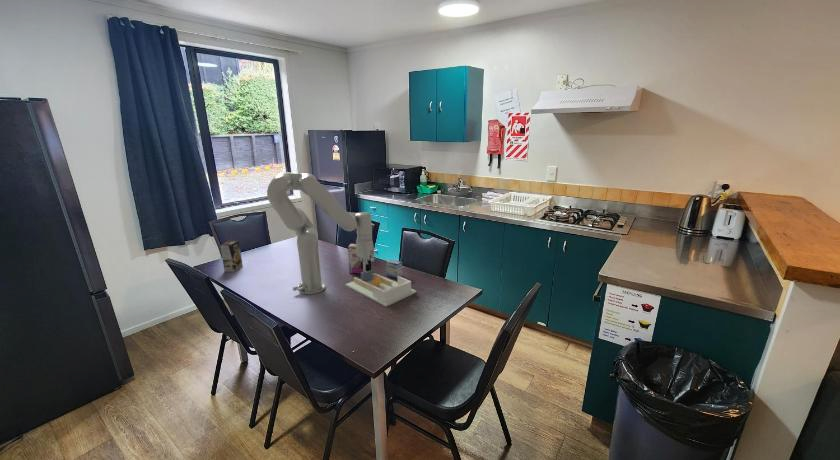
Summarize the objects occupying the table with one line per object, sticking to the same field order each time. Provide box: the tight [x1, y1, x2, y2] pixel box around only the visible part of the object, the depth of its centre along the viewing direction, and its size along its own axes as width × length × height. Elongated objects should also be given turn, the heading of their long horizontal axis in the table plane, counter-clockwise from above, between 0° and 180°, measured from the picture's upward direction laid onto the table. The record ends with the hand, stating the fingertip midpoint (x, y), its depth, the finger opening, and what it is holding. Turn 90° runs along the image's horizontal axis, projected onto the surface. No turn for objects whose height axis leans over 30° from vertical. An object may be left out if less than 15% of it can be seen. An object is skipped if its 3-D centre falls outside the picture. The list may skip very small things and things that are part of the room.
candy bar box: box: [347, 243, 363, 275], centre depth 194 cm, size 11×5×16 cm, turn 84°
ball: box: [372, 277, 381, 286], centre depth 177 cm, size 4×4×4 cm
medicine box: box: [385, 259, 403, 279], centre depth 190 cm, size 8×4×9 cm, turn 62°
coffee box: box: [219, 240, 243, 273], centre depth 200 cm, size 9×6×16 cm
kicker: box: [360, 259, 373, 282], centre depth 181 cm, size 6×3×15 cm, turn 136°
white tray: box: [345, 272, 417, 308], centre depth 175 cm, size 20×32×6 cm, turn 46°
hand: (366, 269), depth 181 cm, fingers closed on kicker, 3 cm apart
